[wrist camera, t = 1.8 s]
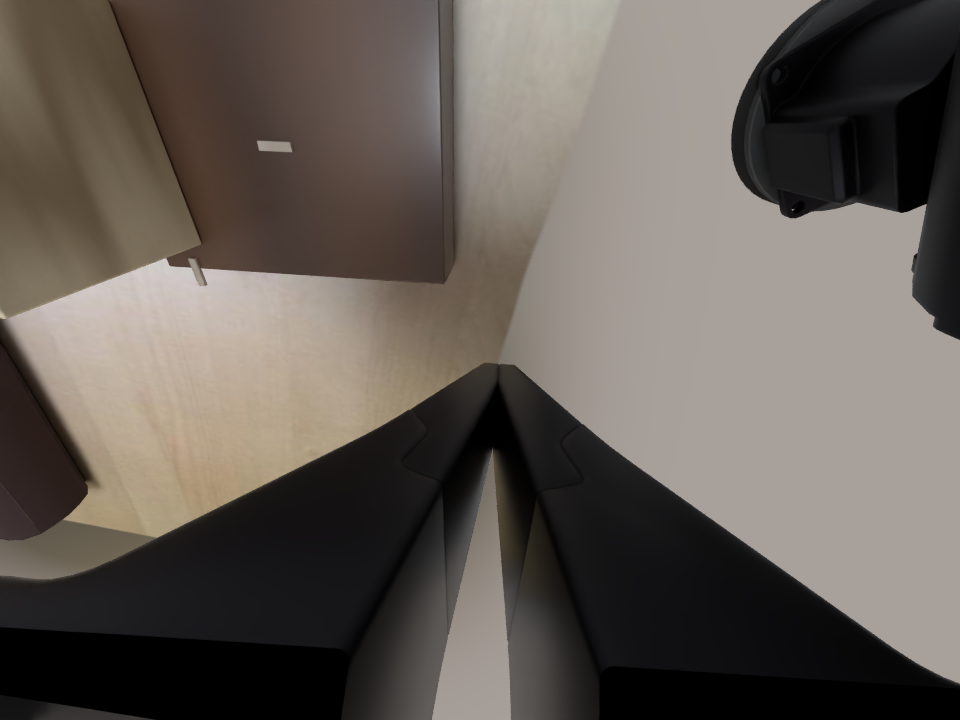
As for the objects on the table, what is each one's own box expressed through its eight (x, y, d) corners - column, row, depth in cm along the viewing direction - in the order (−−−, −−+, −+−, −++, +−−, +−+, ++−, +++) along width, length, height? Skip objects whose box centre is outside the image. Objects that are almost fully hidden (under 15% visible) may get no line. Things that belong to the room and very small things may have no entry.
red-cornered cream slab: (66, -1, 13) (-458, -146, 6) (109, -1, 13) (-374, -147, 6) (171, 242, 17) (-55, 319, 11) (202, 244, 17) (-5, 323, 10)
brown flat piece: (452, -49, 13) (436, -90, 11) (454, 279, 20) (444, 302, 18) (-15, -55, 14) (-133, -95, 12) (138, 258, 21) (85, 277, 19)
